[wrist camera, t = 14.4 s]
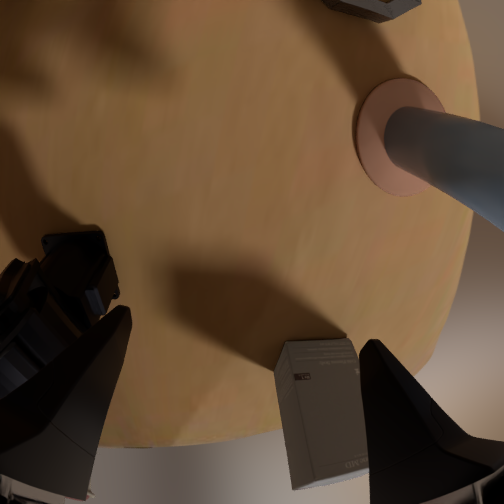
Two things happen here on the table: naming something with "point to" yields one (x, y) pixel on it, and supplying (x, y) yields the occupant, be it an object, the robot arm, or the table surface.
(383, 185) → the terracotta coaster
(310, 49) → the table surface
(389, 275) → the table surface
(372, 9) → the dark grey octagonal ring
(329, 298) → the table surface
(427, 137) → the blue-grey cylinder
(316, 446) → the skincare box
